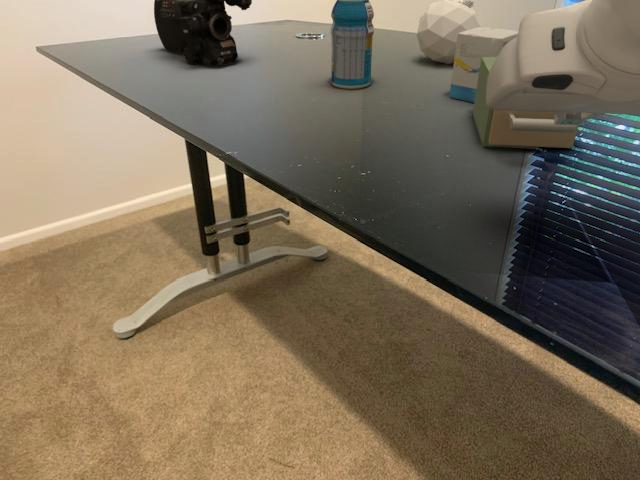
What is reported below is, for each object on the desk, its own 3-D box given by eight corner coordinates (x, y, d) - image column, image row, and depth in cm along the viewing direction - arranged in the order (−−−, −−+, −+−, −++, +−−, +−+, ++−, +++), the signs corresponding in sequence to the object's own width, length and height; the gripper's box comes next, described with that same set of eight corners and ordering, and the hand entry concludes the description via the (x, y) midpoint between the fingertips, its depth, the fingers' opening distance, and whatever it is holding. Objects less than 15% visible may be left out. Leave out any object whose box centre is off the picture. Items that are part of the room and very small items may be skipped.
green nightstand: (572, 150, 73) (590, 83, 68) (482, 146, 75) (493, 80, 70) (549, 117, 85) (563, 58, 80) (472, 114, 87) (481, 56, 82)
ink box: (489, 106, 90) (501, 38, 84) (447, 97, 95) (455, 32, 89) (510, 95, 96) (523, 30, 89) (469, 87, 101) (479, 25, 94)
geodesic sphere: (498, 31, 119) (468, -24, 115) (493, 43, 107) (459, -17, 104) (443, 67, 127) (412, 17, 124) (432, 82, 116) (399, 27, 112)
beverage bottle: (341, 92, 99) (343, -22, 88) (323, 81, 106) (323, -26, 95) (379, 86, 102) (384, -25, 91) (359, 76, 108) (362, -28, 98)
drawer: (580, 160, 68) (597, 103, 64) (493, 156, 69) (503, 100, 65) (550, 117, 83) (562, 68, 78) (478, 114, 84) (486, 66, 80)
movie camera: (271, 57, 122) (261, -25, 112) (208, 74, 112) (191, -13, 103) (203, 44, 142) (189, -26, 132) (144, 58, 132) (125, -17, 123)
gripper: (752, 16, 43) (664, 96, 57) (505, 15, 46) (477, 91, 59) (758, 83, 42) (667, 148, 55) (504, 77, 45) (475, 141, 58)
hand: (567, 119), depth 57 cm, fingers closed
